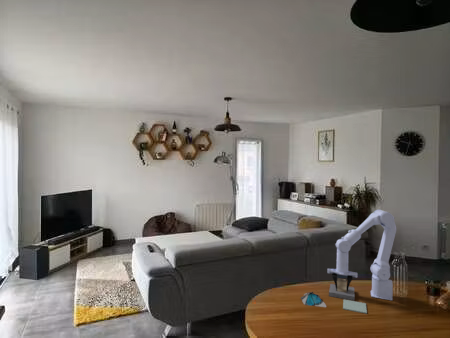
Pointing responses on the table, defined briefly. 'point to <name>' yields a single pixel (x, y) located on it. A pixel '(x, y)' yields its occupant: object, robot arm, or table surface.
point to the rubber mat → (354, 306)
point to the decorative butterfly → (312, 300)
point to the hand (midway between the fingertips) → (341, 288)
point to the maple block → (341, 285)
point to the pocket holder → (341, 293)
